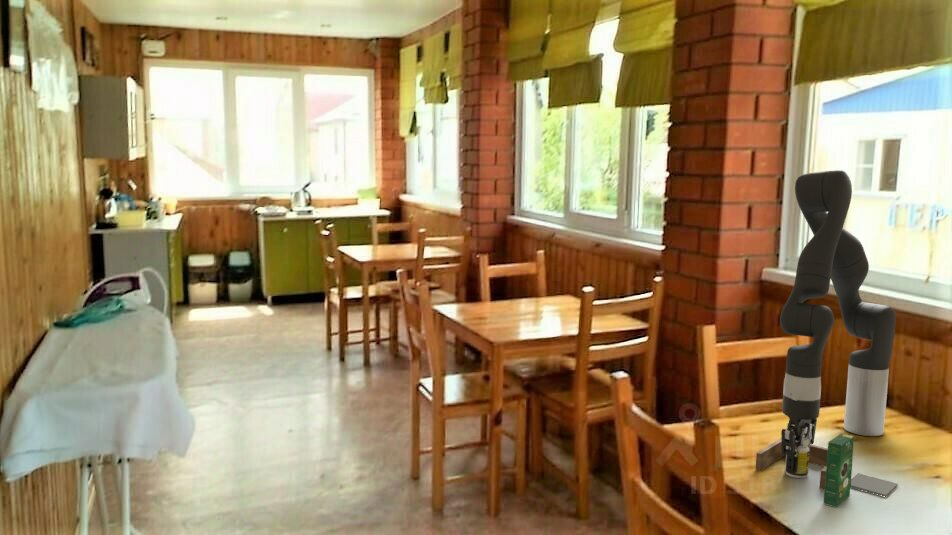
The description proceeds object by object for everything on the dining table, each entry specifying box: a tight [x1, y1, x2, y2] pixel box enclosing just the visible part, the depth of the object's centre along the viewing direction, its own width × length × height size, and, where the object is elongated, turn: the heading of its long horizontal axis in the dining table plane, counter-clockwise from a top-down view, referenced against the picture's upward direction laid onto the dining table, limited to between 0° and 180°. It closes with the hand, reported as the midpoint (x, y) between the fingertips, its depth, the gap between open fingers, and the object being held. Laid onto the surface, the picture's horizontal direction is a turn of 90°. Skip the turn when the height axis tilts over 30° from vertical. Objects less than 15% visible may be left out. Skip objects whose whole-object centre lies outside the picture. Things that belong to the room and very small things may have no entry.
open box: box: [755, 437, 828, 491], centre depth 173 cm, size 14×15×4 cm
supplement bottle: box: [784, 437, 810, 479], centre depth 171 cm, size 5×5×8 cm
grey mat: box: [850, 472, 899, 498], centre depth 165 cm, size 8×8×1 cm
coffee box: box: [823, 433, 855, 508], centre depth 158 cm, size 8×3×13 cm, turn 136°
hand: (796, 468), depth 171 cm, fingers open, 5 cm apart
